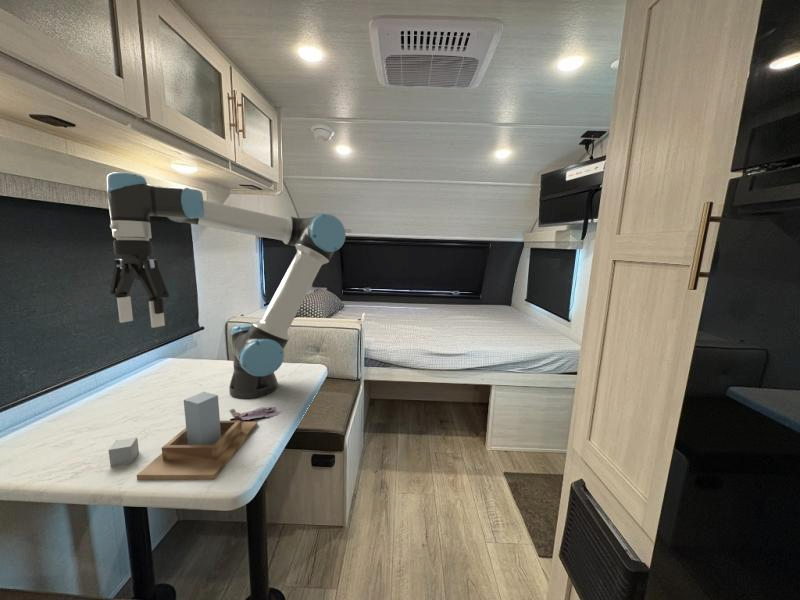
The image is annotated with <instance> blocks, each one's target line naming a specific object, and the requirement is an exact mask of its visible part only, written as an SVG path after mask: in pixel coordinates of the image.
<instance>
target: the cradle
mask: <svg viewBox="0 0 800 600" xmlns="http://www.w3.org/2000/svg"><path fill="white" fill-rule="evenodd" d="M258 425H259V424H258V421H242V420H238V421H230V420H220V429H221V438H220V439H219V440H218V441H217V442H216V443H215V444H214V445H188V443H187V432H186V427H185V428H184V429H181V431H180V432H179V433H177V434H176V435H175V436H173V438H171V439H170V440H169V441H168V442H166V443H165V444H164V445H163V446H162V447H161V453H160V454H159V455H158V456H157V457H156V458H155V459H153V460H152V461H151V462H150V463H149V464H147V465H146V467H144V468H143V469H142V470H140V471H139V472H138V473H137V475H136V480H215V479H216V478H217V477H218V476H219V474H220V473H221V471H222V470H223V469H224V468H225V466H226V465H227V464H228V462H229V461H231V458H233V457H234V456H235V454H236V453H237V451H238V450H239V449H240V448H241V447H242V445H243V444H244V443H245V442H246V440H247V439H248V438H249V436H250V435H251V434H252V433H253V431H254V430H255V429H256V428H257V427H258Z"/></svg>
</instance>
